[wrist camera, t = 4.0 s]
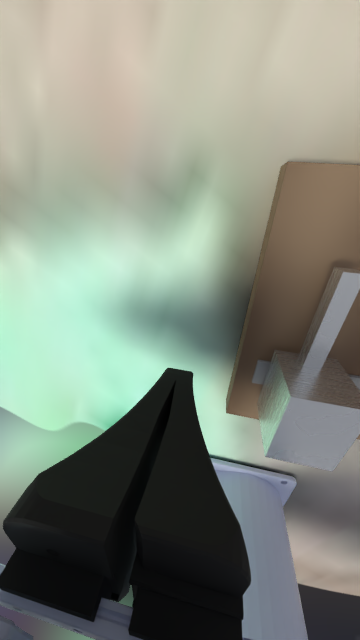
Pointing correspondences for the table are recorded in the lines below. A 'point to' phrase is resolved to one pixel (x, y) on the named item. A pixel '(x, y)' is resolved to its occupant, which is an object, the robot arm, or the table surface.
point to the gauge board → (299, 275)
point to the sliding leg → (313, 388)
